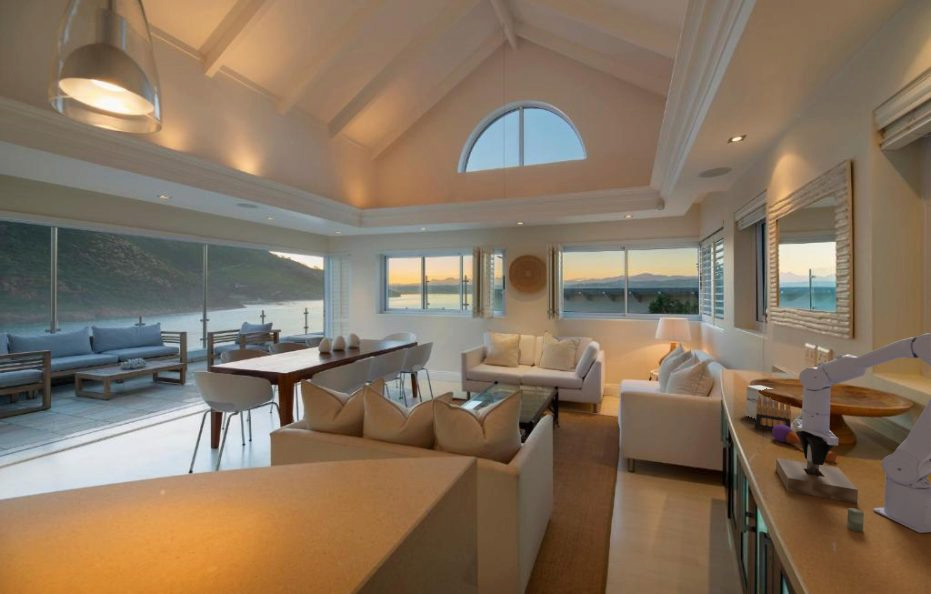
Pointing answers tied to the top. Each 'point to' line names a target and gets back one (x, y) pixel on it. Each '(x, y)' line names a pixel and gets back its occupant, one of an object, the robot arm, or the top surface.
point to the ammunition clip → (772, 414)
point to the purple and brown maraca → (794, 439)
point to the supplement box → (755, 400)
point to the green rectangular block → (855, 519)
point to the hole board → (816, 481)
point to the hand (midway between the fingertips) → (813, 461)
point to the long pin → (811, 463)
